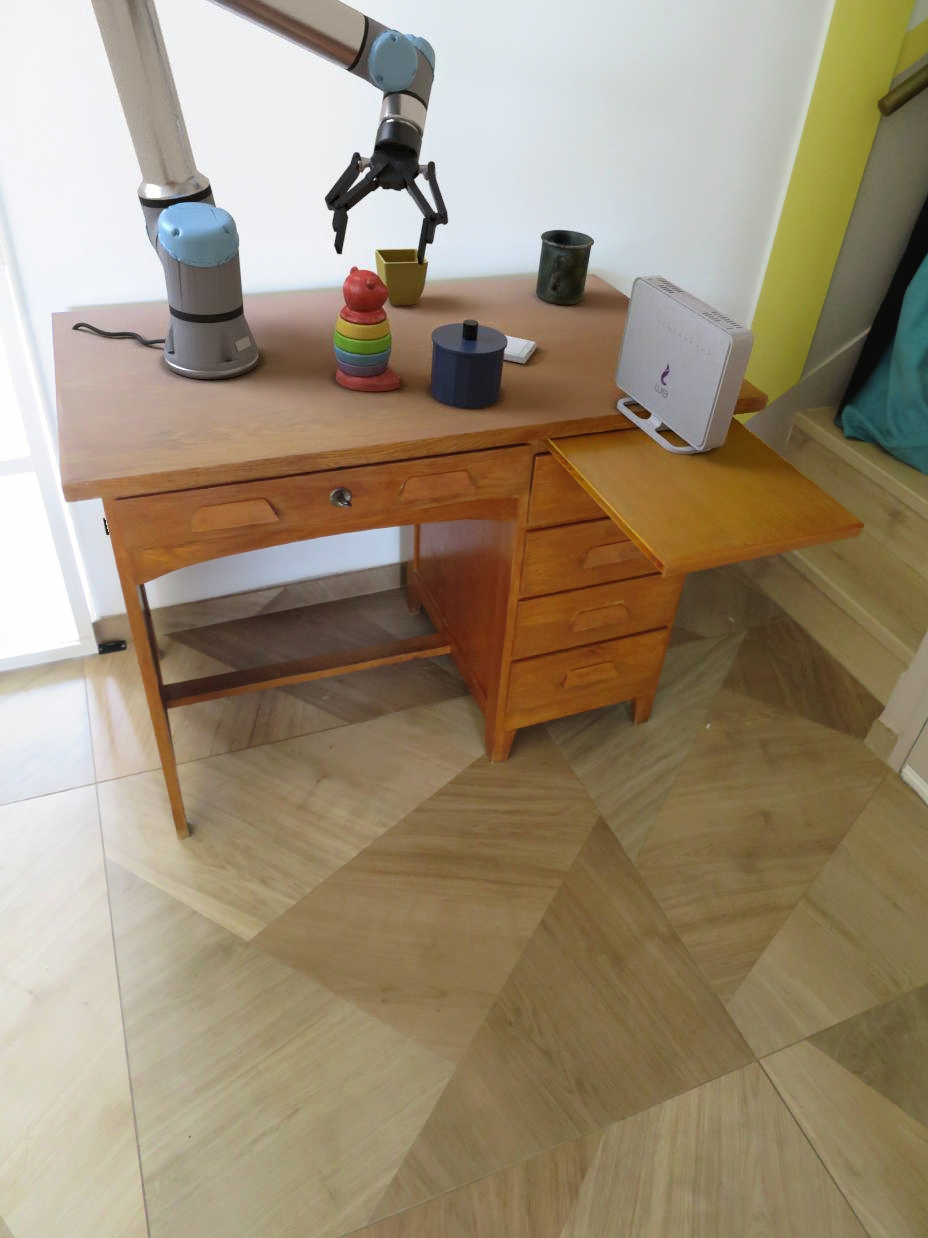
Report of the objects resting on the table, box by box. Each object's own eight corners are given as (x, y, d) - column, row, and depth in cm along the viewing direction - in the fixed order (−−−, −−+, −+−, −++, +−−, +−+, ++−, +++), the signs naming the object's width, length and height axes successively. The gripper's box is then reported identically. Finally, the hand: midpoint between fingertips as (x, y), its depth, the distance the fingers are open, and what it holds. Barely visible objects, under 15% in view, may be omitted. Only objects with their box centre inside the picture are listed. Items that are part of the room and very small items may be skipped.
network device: (600, 394, 149) (622, 274, 137) (643, 388, 152) (669, 271, 140) (686, 467, 132) (721, 337, 119) (733, 459, 135) (772, 331, 122)
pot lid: (424, 353, 136) (425, 330, 134) (438, 325, 146) (439, 303, 143) (502, 364, 135) (504, 341, 133) (510, 335, 145) (513, 313, 142)
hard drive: (458, 342, 158) (524, 355, 156) (473, 327, 164) (536, 340, 162) (458, 351, 159) (523, 364, 157) (472, 335, 165) (535, 348, 163)
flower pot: (373, 294, 178) (374, 248, 173) (415, 292, 181) (417, 247, 175) (383, 310, 172) (384, 262, 166) (426, 308, 174) (429, 261, 169)
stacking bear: (406, 388, 145) (410, 279, 134) (349, 397, 141) (348, 285, 130) (379, 362, 152) (381, 256, 141) (324, 370, 148) (321, 262, 137)
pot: (424, 403, 142) (427, 349, 136) (437, 374, 150) (440, 323, 145) (494, 412, 141) (500, 359, 135) (502, 383, 150) (508, 332, 144)
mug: (588, 292, 189) (598, 234, 181) (577, 315, 178) (586, 254, 170) (539, 284, 191) (546, 226, 183) (525, 306, 180) (532, 245, 172)
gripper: (475, 156, 148) (455, 276, 145) (330, 139, 149) (309, 257, 147) (474, 127, 140) (453, 252, 138) (321, 109, 142) (298, 232, 140)
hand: (378, 255), depth 143 cm, fingers open, 13 cm apart
